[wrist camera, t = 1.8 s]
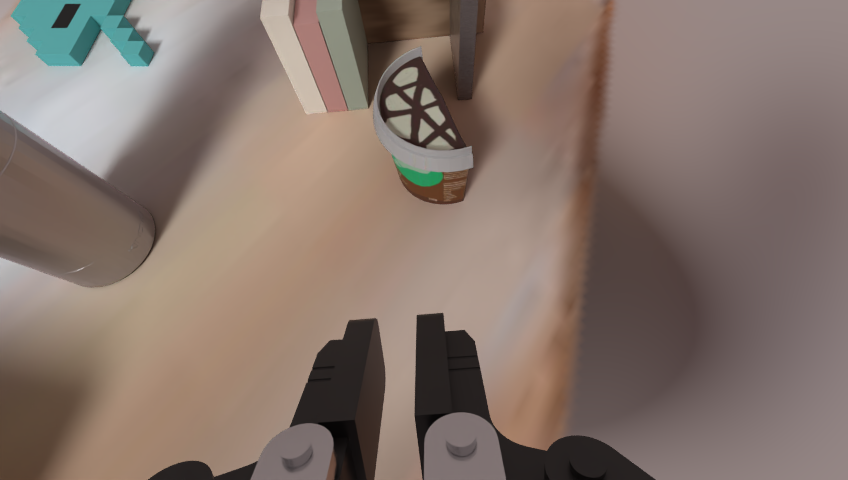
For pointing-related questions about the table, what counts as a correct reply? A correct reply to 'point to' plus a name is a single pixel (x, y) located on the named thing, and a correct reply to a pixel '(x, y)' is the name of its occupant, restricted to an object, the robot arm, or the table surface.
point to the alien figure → (79, 30)
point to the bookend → (463, 43)
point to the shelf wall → (409, 19)
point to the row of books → (321, 51)
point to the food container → (420, 132)
